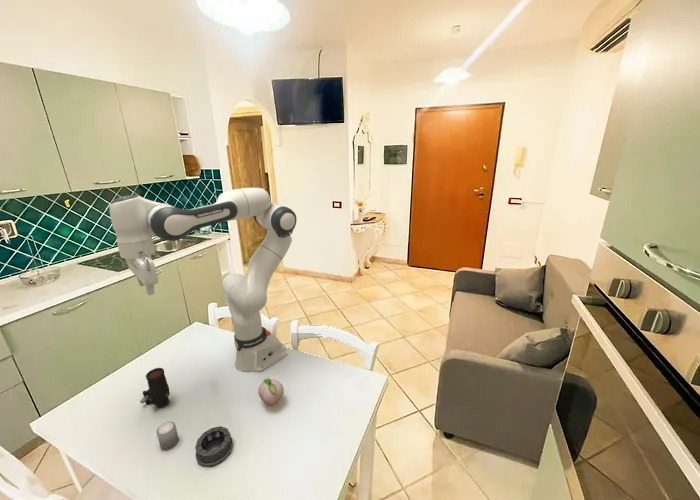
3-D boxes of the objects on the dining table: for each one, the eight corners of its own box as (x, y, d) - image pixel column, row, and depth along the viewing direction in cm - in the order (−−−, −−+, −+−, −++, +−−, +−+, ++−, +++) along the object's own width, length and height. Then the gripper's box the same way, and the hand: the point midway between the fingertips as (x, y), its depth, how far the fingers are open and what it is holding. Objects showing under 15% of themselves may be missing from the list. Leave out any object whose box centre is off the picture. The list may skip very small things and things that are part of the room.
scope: (153, 361, 109) (173, 367, 106) (161, 391, 113) (180, 398, 110) (131, 376, 102) (152, 383, 98) (140, 407, 106) (160, 415, 103)
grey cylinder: (176, 432, 96) (173, 418, 94) (180, 443, 93) (176, 428, 91) (159, 442, 93) (154, 427, 91) (162, 453, 90) (158, 438, 88)
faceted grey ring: (226, 428, 98) (224, 419, 96) (238, 451, 90) (236, 441, 89) (192, 448, 91) (189, 438, 90) (202, 474, 84) (199, 464, 82)
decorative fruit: (289, 402, 108) (287, 380, 105) (270, 416, 102) (267, 393, 99) (275, 389, 114) (273, 368, 111) (256, 402, 108) (253, 379, 105)
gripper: (158, 253, 86) (168, 296, 91) (140, 240, 100) (149, 278, 104) (133, 259, 82) (144, 303, 86) (117, 244, 95) (127, 283, 100)
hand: (146, 289), depth 95 cm, fingers open, 8 cm apart
